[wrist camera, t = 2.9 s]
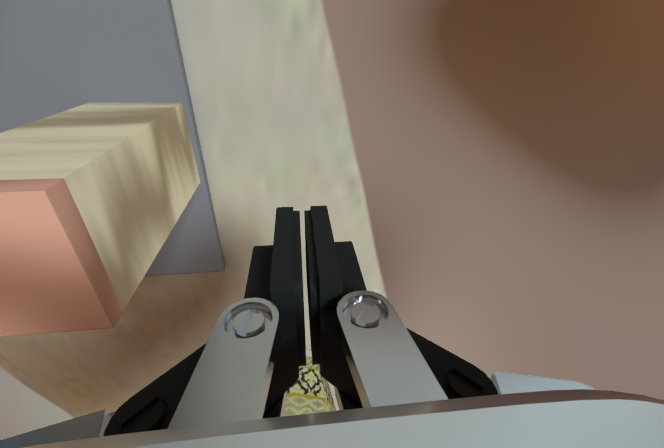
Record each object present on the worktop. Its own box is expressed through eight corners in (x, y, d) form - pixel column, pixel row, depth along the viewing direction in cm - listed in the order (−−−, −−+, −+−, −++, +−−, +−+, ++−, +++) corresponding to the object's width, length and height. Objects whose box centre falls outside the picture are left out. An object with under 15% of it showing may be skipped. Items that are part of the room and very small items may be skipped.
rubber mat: (-250, -90, 13) (-272, -95, 13) (156, -70, 15) (151, -74, 14) (3, 279, 23) (-3, 284, 23) (224, 266, 25) (223, 271, 25)
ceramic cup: (318, 320, 30) (330, 436, 21) (349, 377, 35) (368, 489, 26) (193, 362, 31) (156, 489, 22) (241, 411, 36) (226, 529, 27)
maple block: (89, 102, 18) (-190, 198, 7) (182, 102, 18) (44, 190, 8) (119, 185, 20) (-56, 340, 10) (200, 182, 21) (113, 327, 10)
